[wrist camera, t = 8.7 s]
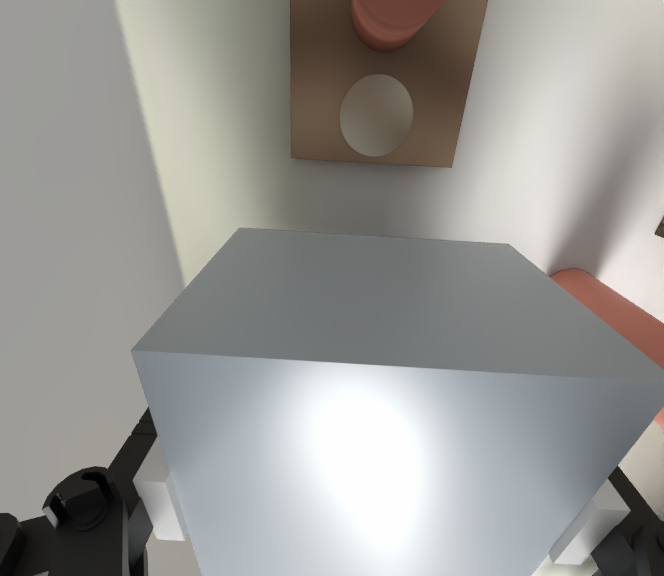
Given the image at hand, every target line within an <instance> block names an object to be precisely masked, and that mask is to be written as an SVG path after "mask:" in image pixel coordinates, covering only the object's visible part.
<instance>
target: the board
mask: <svg viewBox="0 0 664 576" xmlns="http://www.w3.org/2000/svg"><path fill="white" fill-rule="evenodd" d="M487 2H488V0H290V50H291V158H299V159H316V160H332V161H348V162H365V163H381V164H398V165H414V166H431V167H447V168H452V163H453V159H454V154H455V149H456V145H457V140H458V136H459V131H460V126H461V122H462V117H463V113H464V108H465V103H466V99H467V94H468V90H469V85H470V80H471V76H472V71H473V66H474V62H475V57H476V53H477V48H478V43H479V39H480V34H481V30H482V25H483V20H484V16H485V11H486V7H487Z"/></svg>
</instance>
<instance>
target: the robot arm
mask: <svg viewBox="0 0 664 576" xmlns="http://www.w3.org/2000/svg"><path fill="white" fill-rule="evenodd" d="M42 510H43V512H44V513H45V516H41V517H37V518H34V519H29V520H26V521H22V522H19V521H18V520H17V518H16V517H14V516H13V515H11V514H9V513H0V576H148V558H147V550H146V546H145V545H146V543H147V541H148V538H149V536H150V534H151V532H152V530H153V531H154V533H155V535H156V538H157V539H164V540H180V541H185V538H186V536H187V533H188V528H187V525H186V522H185V518H184V515H183V512H182V509H181V506H180V502H179V499H178V496H177V493H176V490H175V487H174V483H173V480H172V477H171V474H170V472H169V469H168V466H167V463H166V460H165V457H164V454H163V450H162V447H161V444H160V441H159V438H158V435H157V431H156V428H155V425H154V422H153V419H152V416H151V413H150V409H149V407H148V408H147V410H146V411H145V413H144V414H143V416H142V417H141V419H140V420H139V423H138V424H137V425H136V426H135V428H134V430H133V431H132V434H131V436H129V437H128V439H127V440H126V442H125V443H124V445H123V446H122V448H121V449H120V451H119V453H118V454H117V455H116V457H115V459H114V460H113V462H112V463H111V465H110V466H109V468H108V469H107V468H105V467H97V466H94V467H90V468H85V469H82V470H80V471H78V472H75V473H73V474H71V475H69V476H68V477H67V478H65V479H64V480H63V481H62V482H60V483H59V484H58V485H57V486H56V487H55V488H54V489H53V491H52V492H51V493H50V494H49V495H48V496H47V499H46V501H45V503H44V505H43V508H42ZM549 555H550V557H551V559H552V562H553V563H555V564H571V565H582V564H583V563H584V561H585V560H586V559H587V558H588V557H589V556H590V555H592V557H593V559H594V560H595V562H596V564H597V566H598V568H599V569H598V570H597V571H596V572H595V573H594V574H593V575H592V576H664V522H663V521H661V520H660V519H659V518H658V517H657V515H656V514H655V513H654V512H653V510H652V509H651V508H650V507H649V505H648V504H647V503H646V501H645V500H644V499H643V497H642V496H641V495H640V494H639V492H638V491H637V490H636V488H635V487H634V486H633V485H632V483H631V482H630V481H629V479H628V478H627V477H626V475H625V474H624V473H623V472H622V470H621V469H620V468H619V466H618V465H617V467H616V468H615V469H614V470H613V472H612V473H611V474H610V476H609V477H608V478H607V479H606V481H605V482H604V483H603V484H602V486H601V487H600V488H599V490H598V491H597V492H596V493H595V495H594V496H593V497H592V498H591V499H590V500H589V502H588V503H587V504H586V506H585V507H584V508H583V509H582V511H581V512H580V513H579V514H578V516H577V517H576V518H575V520H574V521H573V522H572V523H571V525H570V526H569V527H568V529H567V530H566V531H565V532H564V534H563V535H562V536H561V538H560V539H559V540H558V541H557V543H556V544H555V545H554V547H553V548H552V549H551V550H550V552H549Z"/></svg>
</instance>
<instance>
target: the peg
mask: <svg viewBox="0 0 664 576" xmlns="http://www.w3.org/2000/svg"><path fill="white" fill-rule="evenodd" d="M550 278H551V279H552V280H554V281H555V282H556V283H557V284H559V285H560V286H561V287H562V288H564V289H565V290H566V291H567V292H568V293H570V294H571V295H572V296H573V297H575V298H576V299H577V300H578V301H580V302H581V303H582V304H583V305H585V306H586V307H587V308H588V309H590V310H591V311H592V312H593V313H594V314H596V315H597V316H598V317H599V318H601V319H602V320H603V321H604V322H606V323H607V324H608V325H609V326H611V327H612V328H613V329H614V330H615V331H617V332H618V333H619V334H620V335H622V336H623V337H624V338H625V339H627V340H628V341H629V342H630V343H632V344H633V345H634V346H635V347H636V348H638V349H639V350H640V351H641V352H643V353H644V354H645V355H646V356H648V357H649V358H650V359H651V360H653V361H654V362H655V363H656V364H658V365H659V366H660V367H661V368H662V369H664V323H662V322H661V321H659V320H658V319H656V318H655V317H653V316H652V315H650V314H649V313H647V312H646V311H644V310H643V309H641V308H640V307H638V306H636V305H635V304H633V303H632V302H630V301H629V300H627V299H626V298H624V297H623V296H621V295H620V294H618V293H617V292H615V291H614V290H612V289H611V288H609V287H608V286H606V285H605V284H603V283H602V282H600V281H599V280H597V279H596V278H594V277H593V276H591V275H590V274H588V273H587V272H585V271H583V270H580V269H566V270H562V271H560V272H557V273H555V274H554V275H552V276H551V277H550ZM654 420H655V421H656V422H657V423H658V424H659V425H660V426H661V427H662V428H663V429H664V407H663V408H662V409H661V410H660V412H659V413H658V414H657V415H656V417H655V418H654Z"/></svg>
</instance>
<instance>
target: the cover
mask: <svg viewBox="0 0 664 576" xmlns="http://www.w3.org/2000/svg"><path fill="white" fill-rule="evenodd" d="M131 352H132V355H133V359H134V362H135V365H136V368H137V371H138V374H139V378H140V381H141V384H142V387H143V390H144V393H145V397H146V399H147V403H148V406H149V409H150V413H151V416H152V419H153V422H154V425H155V428H156V431H157V435H158V438H159V441H160V444H161V447H162V450H163V454H164V457H165V460H166V463H167V466H168V469H169V472H170V474H171V477H172V480H173V483H174V487H175V490H176V493H177V496H178V499H179V502H180V506H181V509H182V512H183V515H184V518H185V522H186V525H187V528H188V533H189V536H190V539H191V542H192V545H193V548H194V552H195V555H196V558H197V561H198V564H199V567H200V571H201V574H202V576H531V575H532V574H533V573H534V571H535V570H536V569H537V568H538V566H539V565H540V564H541V562H542V561H543V560H544V559H545V557H546V556H547V555H548V553H549V552H550V550H551V549H552V548H553V547H554V545H555V544H556V543H557V541H558V540H559V539H560V538H561V536H562V535H563V534H564V532H565V531H566V530H567V529H568V527H569V526H570V525H571V523H572V522H573V521H574V520H575V518H576V517H577V516H578V514H579V513H580V512H581V511H582V509H583V508H584V507H585V506H586V504H587V503H588V502H589V500H590V499H591V498H592V497H593V496H594V495H595V493H596V492H597V491H598V490H599V488H600V487H601V486H602V484H603V483H604V482H605V481H606V479H607V478H608V477H609V476H610V474H611V473H612V472H613V470H614V469H615V468H616V467H617V465H618V464H619V463H620V461H621V460H622V459H623V458H624V456H625V455H626V454H627V453H628V451H629V450H630V449H631V447H632V446H633V445H634V444H635V442H636V441H637V440H638V438H639V437H640V436H641V435H642V433H643V432H644V431H645V430H646V428H647V427H648V426H649V424H650V423H651V422H652V421H653V419H654V418H655V417H656V415H657V414H658V413H659V412H660V410H661V409H662V408H663V407H664V369H662V368H661V367H660V366H659V365H658V364H656V363H655V362H654V361H653V360H651V359H650V358H649V357H648V356H646V355H645V354H644V353H643V352H641V351H640V350H639V349H638V348H636V347H635V346H634V345H633V344H632V343H630V342H629V341H628V340H627V339H625V338H624V337H623V336H622V335H620V334H619V333H618V332H617V331H615V330H614V329H613V328H612V327H611V326H609V325H608V324H607V323H606V322H604V321H603V320H602V319H601V318H599V317H598V316H597V315H596V314H594V313H593V312H592V311H591V310H590V309H588V308H587V307H586V306H585V305H583V304H582V303H581V302H580V301H578V300H577V299H576V298H575V297H573V296H572V295H571V294H570V293H568V292H567V291H566V290H565V289H564V288H562V287H561V286H560V285H559V284H557V283H556V282H555V281H554V280H552V279H551V278H550V277H549V276H547V275H546V274H545V273H544V272H543V271H541V270H540V269H539V268H538V267H536V266H535V265H534V264H533V263H531V262H530V261H529V260H528V259H526V258H525V257H524V256H523V255H521V254H520V253H519V252H518V251H517V250H515V249H514V248H513V247H512V246H510V245H509V244H501V243H485V242H468V241H451V240H435V239H418V238H402V237H385V236H369V235H352V234H335V233H319V232H302V231H286V230H269V229H253V228H239V229H238V230H237V231H236V232H235V233H234V234H233V235H232V236H231V238H230V239H229V240H228V241H227V242H226V243H225V244H224V245H223V247H222V248H221V249H220V250H219V251H218V252H217V253H216V255H215V256H214V257H213V258H212V259H211V260H210V261H209V262H208V264H207V265H206V266H205V267H204V268H203V269H202V270H201V271H200V273H199V274H198V275H197V276H196V277H195V278H194V279H193V281H192V282H191V283H190V284H189V285H188V286H187V287H186V288H185V290H184V291H183V292H182V293H181V294H180V295H179V296H178V297H177V299H176V300H175V301H174V302H173V303H172V304H171V306H170V307H169V308H168V309H167V310H166V311H165V312H164V313H163V314H162V316H161V317H160V318H159V319H158V320H157V321H156V322H155V323H154V325H153V326H152V327H151V328H150V329H149V330H148V331H147V333H146V334H145V335H144V336H143V337H142V338H141V340H140V341H139V342H138V343H137V344H136V345H135V346H134V347H133V348H132V349H131Z"/></svg>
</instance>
